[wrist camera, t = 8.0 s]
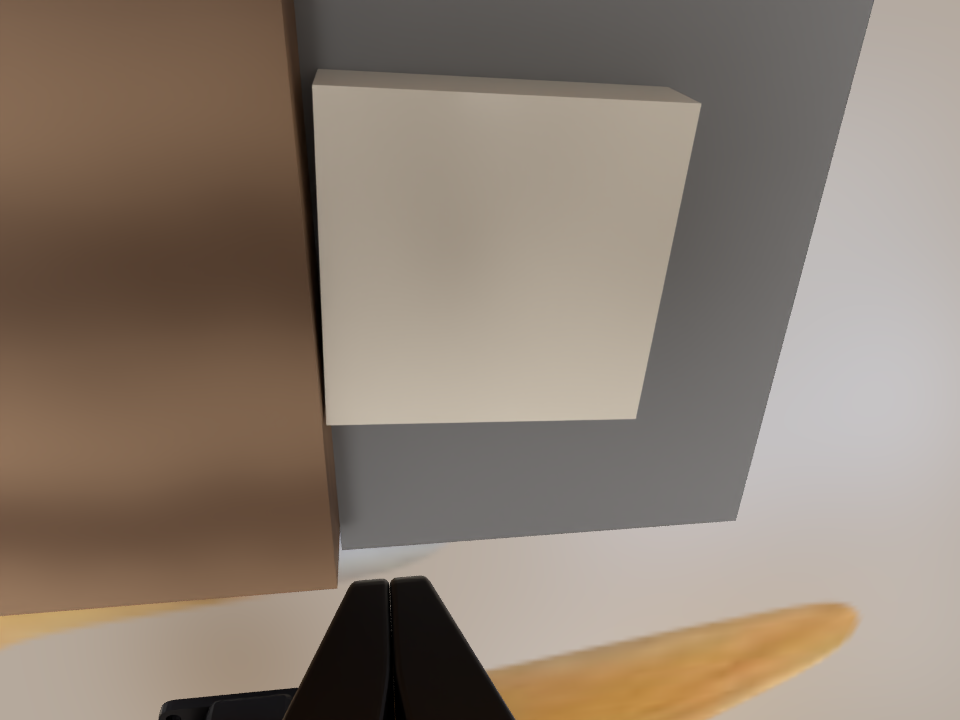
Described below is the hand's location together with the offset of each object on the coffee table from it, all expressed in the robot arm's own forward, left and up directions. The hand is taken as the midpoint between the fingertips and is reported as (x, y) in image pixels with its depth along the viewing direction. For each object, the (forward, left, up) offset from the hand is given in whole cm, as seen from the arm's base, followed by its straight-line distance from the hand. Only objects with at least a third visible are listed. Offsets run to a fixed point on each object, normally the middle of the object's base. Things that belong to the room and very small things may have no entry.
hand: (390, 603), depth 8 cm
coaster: (0, -3, -11) cm, 12 cm away
